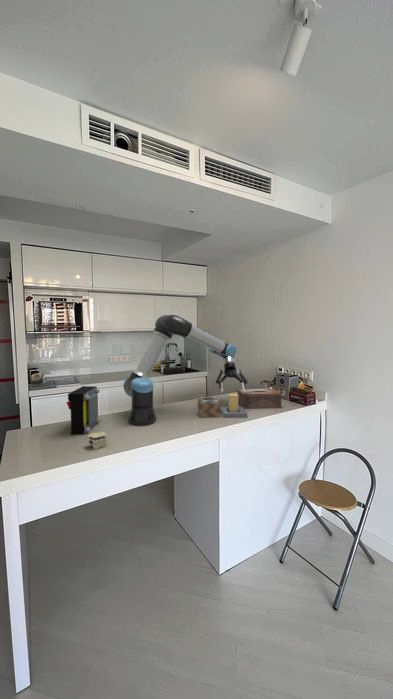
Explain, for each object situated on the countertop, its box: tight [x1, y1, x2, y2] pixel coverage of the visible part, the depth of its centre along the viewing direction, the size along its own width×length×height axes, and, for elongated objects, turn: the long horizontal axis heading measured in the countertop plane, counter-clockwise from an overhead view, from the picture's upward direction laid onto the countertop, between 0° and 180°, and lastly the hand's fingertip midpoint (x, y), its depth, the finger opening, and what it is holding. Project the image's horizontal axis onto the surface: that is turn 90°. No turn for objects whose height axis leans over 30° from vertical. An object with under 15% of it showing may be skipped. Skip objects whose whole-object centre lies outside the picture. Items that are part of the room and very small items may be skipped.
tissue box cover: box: [236, 388, 283, 410], centre depth 196 cm, size 26×14×10 cm, turn 97°
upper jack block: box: [197, 396, 221, 419], centre depth 175 cm, size 12×12×10 cm
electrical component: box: [66, 385, 101, 436], centre depth 148 cm, size 18×10×20 cm, turn 179°
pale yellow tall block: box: [227, 393, 239, 412], centre depth 175 cm, size 5×5×12 cm
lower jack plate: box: [220, 406, 248, 419], centre depth 176 cm, size 14×14×2 cm
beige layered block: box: [87, 431, 108, 450], centre depth 127 cm, size 10×9×6 cm
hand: (233, 392), depth 181 cm, fingers open, 13 cm apart
